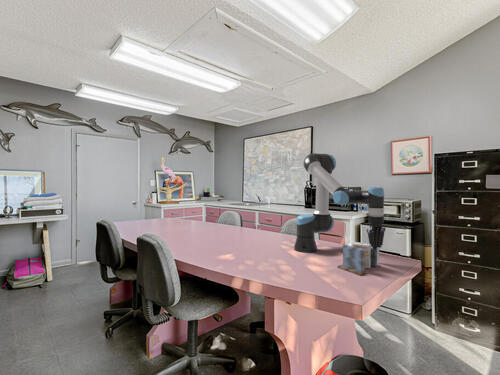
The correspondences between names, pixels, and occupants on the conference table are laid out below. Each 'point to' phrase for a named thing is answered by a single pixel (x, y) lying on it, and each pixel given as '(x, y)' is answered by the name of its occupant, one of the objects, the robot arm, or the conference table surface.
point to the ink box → (367, 252)
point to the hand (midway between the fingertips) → (376, 259)
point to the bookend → (374, 258)
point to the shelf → (353, 260)
